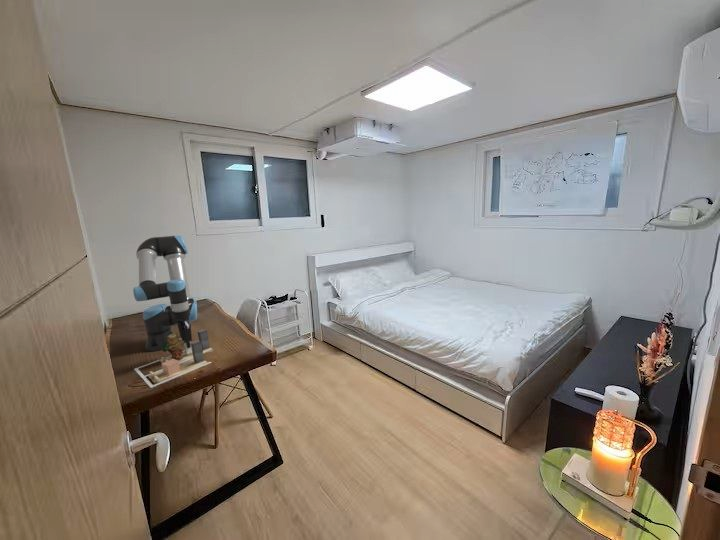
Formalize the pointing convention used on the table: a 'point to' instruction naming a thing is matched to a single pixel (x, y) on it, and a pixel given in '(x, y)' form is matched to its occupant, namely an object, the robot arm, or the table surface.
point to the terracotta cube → (171, 367)
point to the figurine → (173, 347)
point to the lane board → (162, 370)
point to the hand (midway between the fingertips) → (189, 352)
